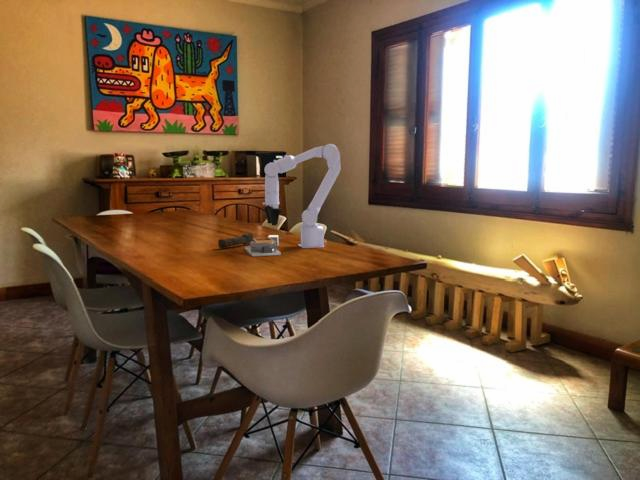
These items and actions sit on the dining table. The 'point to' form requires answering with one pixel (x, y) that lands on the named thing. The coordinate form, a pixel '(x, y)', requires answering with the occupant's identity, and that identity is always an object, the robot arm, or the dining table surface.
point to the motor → (262, 247)
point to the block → (274, 238)
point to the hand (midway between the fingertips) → (272, 224)
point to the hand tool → (236, 241)
